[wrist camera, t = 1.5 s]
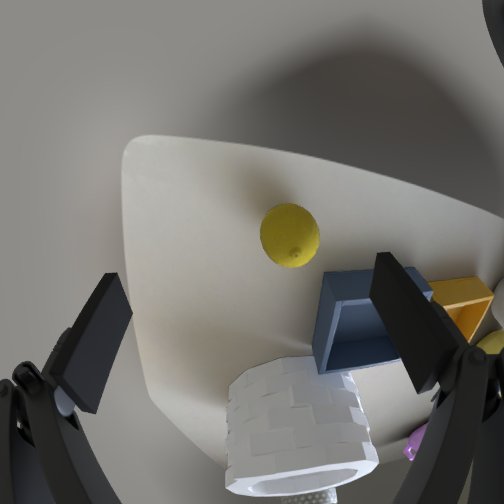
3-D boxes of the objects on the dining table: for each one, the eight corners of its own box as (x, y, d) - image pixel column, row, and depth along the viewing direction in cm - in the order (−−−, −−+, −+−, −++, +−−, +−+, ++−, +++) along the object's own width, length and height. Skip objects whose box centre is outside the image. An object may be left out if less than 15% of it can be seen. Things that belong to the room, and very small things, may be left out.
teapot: (404, 443, 77) (412, 467, 67) (395, 439, 71) (403, 465, 61) (452, 416, 71) (461, 439, 60) (448, 408, 65) (460, 434, 54)
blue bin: (414, 266, 34) (434, 290, 29) (389, 336, 40) (401, 360, 36) (323, 272, 33) (335, 301, 29) (311, 346, 40) (318, 375, 35)
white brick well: (363, 395, 50) (385, 471, 33) (262, 427, 55) (267, 500, 38) (332, 329, 38) (367, 446, 22) (197, 377, 43) (187, 479, 27)
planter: (329, 456, 71) (336, 500, 56) (331, 466, 81) (337, 504, 65) (274, 466, 73) (277, 510, 58) (284, 475, 83) (287, 513, 67)
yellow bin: (477, 275, 35) (494, 295, 31) (450, 333, 42) (462, 353, 37) (421, 282, 35) (439, 306, 30) (395, 345, 42) (407, 369, 37)
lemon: (255, 196, 28) (260, 228, 21) (308, 191, 28) (330, 222, 21) (260, 243, 31) (265, 286, 24) (309, 238, 31) (327, 279, 24)
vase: (466, 375, 53) (492, 426, 37) (445, 364, 48) (477, 428, 31) (512, 329, 46) (544, 377, 29) (500, 308, 41) (543, 367, 24)
